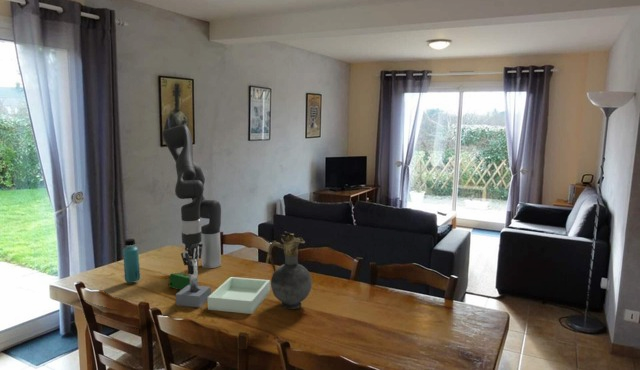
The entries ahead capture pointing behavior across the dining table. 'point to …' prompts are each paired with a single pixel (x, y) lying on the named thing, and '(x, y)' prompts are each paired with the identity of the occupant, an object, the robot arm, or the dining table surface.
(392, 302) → the dining table surface
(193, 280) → the lock pin
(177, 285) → the green irregular block
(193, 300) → the block
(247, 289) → the tray
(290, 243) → the pitcher
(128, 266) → the beverage bottle
